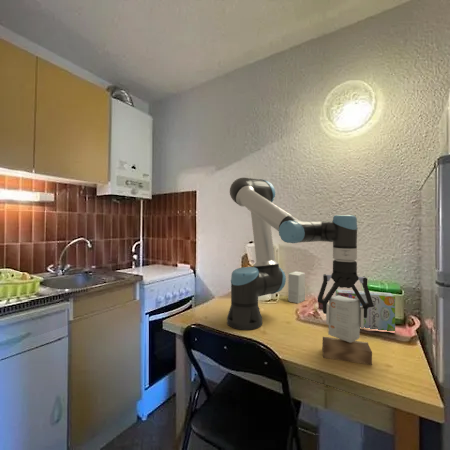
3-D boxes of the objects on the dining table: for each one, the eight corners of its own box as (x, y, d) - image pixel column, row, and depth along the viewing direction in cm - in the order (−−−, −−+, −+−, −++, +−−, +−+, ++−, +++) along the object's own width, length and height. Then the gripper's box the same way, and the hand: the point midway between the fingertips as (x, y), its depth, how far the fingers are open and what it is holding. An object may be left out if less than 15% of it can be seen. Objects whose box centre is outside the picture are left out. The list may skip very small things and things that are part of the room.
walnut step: (323, 357, 85) (323, 344, 85) (322, 348, 91) (322, 336, 91) (371, 364, 81) (372, 351, 81) (367, 355, 86) (367, 342, 86)
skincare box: (295, 298, 151) (295, 271, 151) (305, 300, 146) (306, 272, 146) (287, 301, 145) (287, 273, 144) (298, 303, 140) (298, 274, 140)
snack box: (390, 329, 108) (391, 292, 108) (395, 334, 103) (395, 296, 102) (335, 323, 114) (335, 288, 114) (336, 328, 109) (337, 291, 108)
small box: (359, 338, 89) (361, 300, 89) (350, 343, 85) (352, 303, 85) (337, 330, 96) (338, 294, 95) (327, 334, 92) (328, 297, 92)
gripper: (310, 260, 90) (309, 324, 90) (385, 263, 83) (384, 333, 83) (310, 257, 97) (309, 317, 97) (379, 260, 90) (378, 324, 90)
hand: (344, 324), depth 90 cm, fingers closed on small box, 10 cm apart
